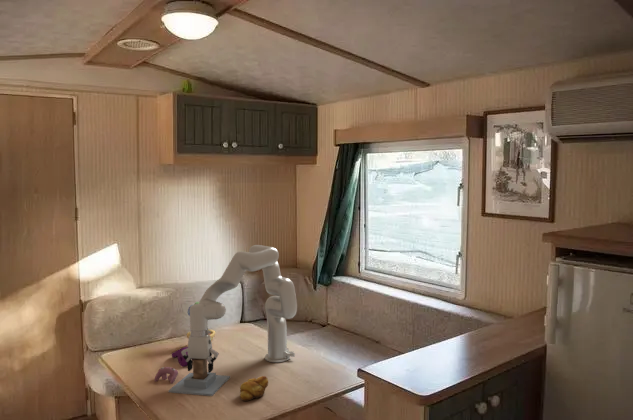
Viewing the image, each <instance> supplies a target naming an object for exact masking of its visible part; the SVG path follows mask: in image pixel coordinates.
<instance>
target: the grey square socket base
mask: <svg viewBox="0 0 633 420" xmlns="http://www.w3.org/2000/svg"><path fill="white" fill-rule="evenodd" d="M229 379H231V375H223V374H222V375H221V374H217V372H213V371H211V372H210V373H209V372H208V371H207V377H206V378H205V379H204V380H202V379H193V372H188V374H186V375H185V376H184V377H183V378H182V379H180V380H179V381H178V382H177V383H175V385H173V386H172V387H171V388H170V389H168V393H171V394H173V393H174V394H184V395H197V396H208V397H212V396H214V395H216V393H217V392H218V391H219V390H220V389H221V388H222V387H223V386H224V385H225V384H226V383H227V382H228V381H229ZM225 382H226V383H225ZM224 383H225V384H224ZM223 384H224V385H223ZM222 385H223V386H222ZM220 387H221V388H220Z"/></svg>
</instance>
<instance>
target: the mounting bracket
mask: <svg viewBox="0 0 633 420" xmlns="http://www.w3.org/2000/svg"><path fill="white" fill-rule="evenodd" d="M187 348H188V346H185V347H182V348H179V349H177V350H176V351H173V352H172V353H171V358H172V359H176V358H177V360H178V365H179V366H180V367H182V368H184V367H187V362H186V360H185V359H184V358H183V355H182V353H181V351H183V350H185V349H187ZM186 354H187V355H188V351H187V352H186ZM191 360H192V361H193V358H192V359H191Z"/></svg>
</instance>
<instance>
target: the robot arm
mask: <svg viewBox="0 0 633 420" xmlns="http://www.w3.org/2000/svg"><path fill="white" fill-rule="evenodd" d="M279 254H280V253H279V250H278V249H277V248H276V247H274V246H267V245H262V244H254V245H251V246H250V247H249V248H248V251H237V252H235V254H233V257H232V258H231V259H230V261H229V263H228V265H227V267H226V269H225V270H224V272H223V273H222V275H221V276H220V278H218V279H217V280H216V281H215V282H213V283H212V284H211V285H210V286H209V287H208V288H207V289H206V290H205V291H204V293H203V295H202V296H201V298H200V300H199V301H198V302H199V304H195V303H193V304H194V305H193V304H191V305H192V306H191V305H190V306H191V307H190V306H189V307H190V316H189V327H190V329H189V332H190V336H189V339H188V341H187V342H188V343H187V347H188V348H187V349H185V350H183V351H181V353H182V355H183V358H184V359H185V360H186V362H187V366H186V367H187V371H188V372H190V371H192V370H193V360H192V358H193V359H207V372H209V373H210V372H213V371H214V362H215V361H216V360H217V358H218V356H219V354H220V353H219V352H218V351H216V350H215V349H213V343H212V342H213V341H212V342H211V338H210V335H208V334H210V333H211V331H209V330H208V329H209V328H208V327H209V322H208V321H212V320H219V319H221V318H223V317H224V316H225V315H226V312H227V308H226V306H225V305H224V304H223V303H221V302H219V301H217V299H218V298H220V296H221V295H222V294H224V293H225V292H228V291H232V290H233V289H236V288H237V287H238V286H239V284H240V282H241V281H242V278H243V277H244V275H245V273H246V272H256V271H260V270H262V274H263V280H264V287H265V291H266V292H267V294H269V295H271V296H269V297H267V299H266V301H265V304H264V308H265V313H266V321H267V322H266V323H267V324H266V325H267V354H266V355H265V356H264V360H265V361H267V362H269V363H284V362H287V361H289V360H290V359H291V358H293V357H295V356H296V353H295V352H294V351H293V350H292V351H290V350H289V348H287V346H288V345H287V343H288V341H287V340H288V338H287V334H288V333H287V331H288V329H287V319H289V320H290V319H293V318H294V317H295V316H296V315H297V312H298V300H297V295H296V287H295V284H294V282H293V280H291V279H290V278H288V277H284V276H282V274H281V269H280V268H281V267H280V264H279V262H278V261H279V257H280V255H279ZM187 351H188V355H187V354H186V352H187ZM212 356H213V357H212Z"/></svg>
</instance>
